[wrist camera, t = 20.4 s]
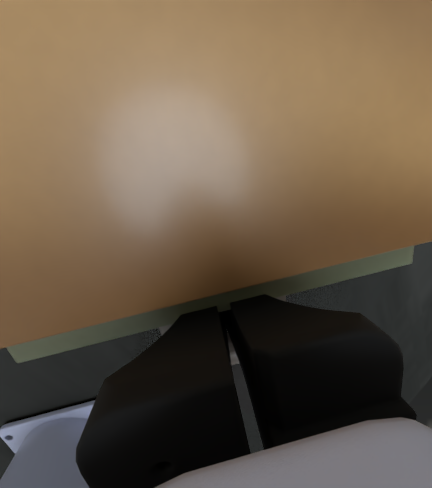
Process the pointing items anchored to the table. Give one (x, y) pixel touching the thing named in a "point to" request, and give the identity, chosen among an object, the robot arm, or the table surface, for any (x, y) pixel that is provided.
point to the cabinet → (202, 149)
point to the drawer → (208, 306)
